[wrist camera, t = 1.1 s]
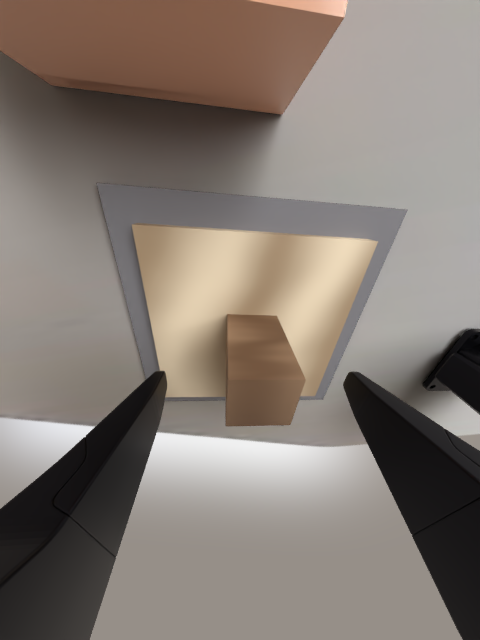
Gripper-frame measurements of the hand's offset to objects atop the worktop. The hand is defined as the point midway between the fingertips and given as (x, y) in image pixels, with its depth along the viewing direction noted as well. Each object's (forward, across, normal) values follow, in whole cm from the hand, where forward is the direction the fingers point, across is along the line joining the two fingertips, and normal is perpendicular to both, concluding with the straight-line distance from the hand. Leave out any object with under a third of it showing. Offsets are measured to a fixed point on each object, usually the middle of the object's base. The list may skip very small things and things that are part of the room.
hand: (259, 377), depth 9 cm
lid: (+4, 0, 0) cm, 4 cm away
